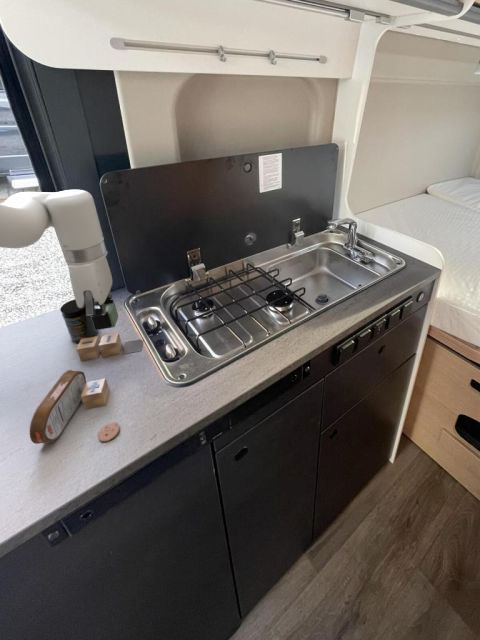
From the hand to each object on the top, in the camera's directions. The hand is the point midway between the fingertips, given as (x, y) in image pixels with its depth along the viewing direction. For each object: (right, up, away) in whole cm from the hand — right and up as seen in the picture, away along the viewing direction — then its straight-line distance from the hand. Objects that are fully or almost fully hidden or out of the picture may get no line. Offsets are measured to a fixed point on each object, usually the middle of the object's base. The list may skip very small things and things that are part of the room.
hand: (106, 320), depth 75 cm
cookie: (+6, -21, -8) cm, 23 cm away
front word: (-1, -18, -1) cm, 18 cm away
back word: (-6, -11, +13) cm, 18 cm away
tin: (-5, -20, -5) cm, 21 cm away
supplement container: (-16, -9, +18) cm, 26 cm away
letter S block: (0, -1, 0) cm, 1 cm away
